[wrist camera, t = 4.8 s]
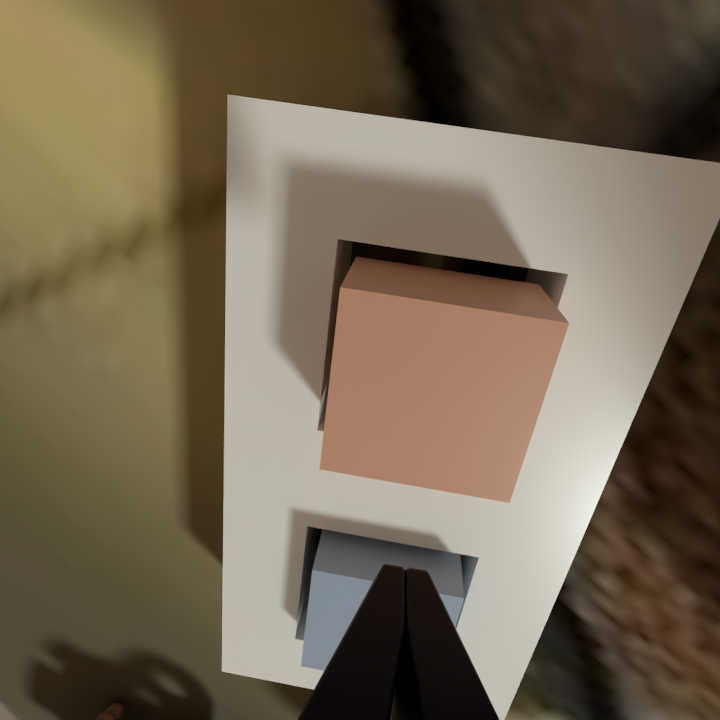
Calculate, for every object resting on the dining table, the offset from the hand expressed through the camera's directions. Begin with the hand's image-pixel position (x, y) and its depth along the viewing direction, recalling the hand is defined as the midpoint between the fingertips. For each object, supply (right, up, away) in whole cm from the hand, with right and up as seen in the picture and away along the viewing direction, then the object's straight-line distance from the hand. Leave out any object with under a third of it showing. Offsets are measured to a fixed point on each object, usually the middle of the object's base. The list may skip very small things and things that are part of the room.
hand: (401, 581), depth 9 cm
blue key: (0, -4, +11) cm, 11 cm away
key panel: (+1, +1, +11) cm, 11 cm away
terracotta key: (+1, +4, +5) cm, 7 cm away
